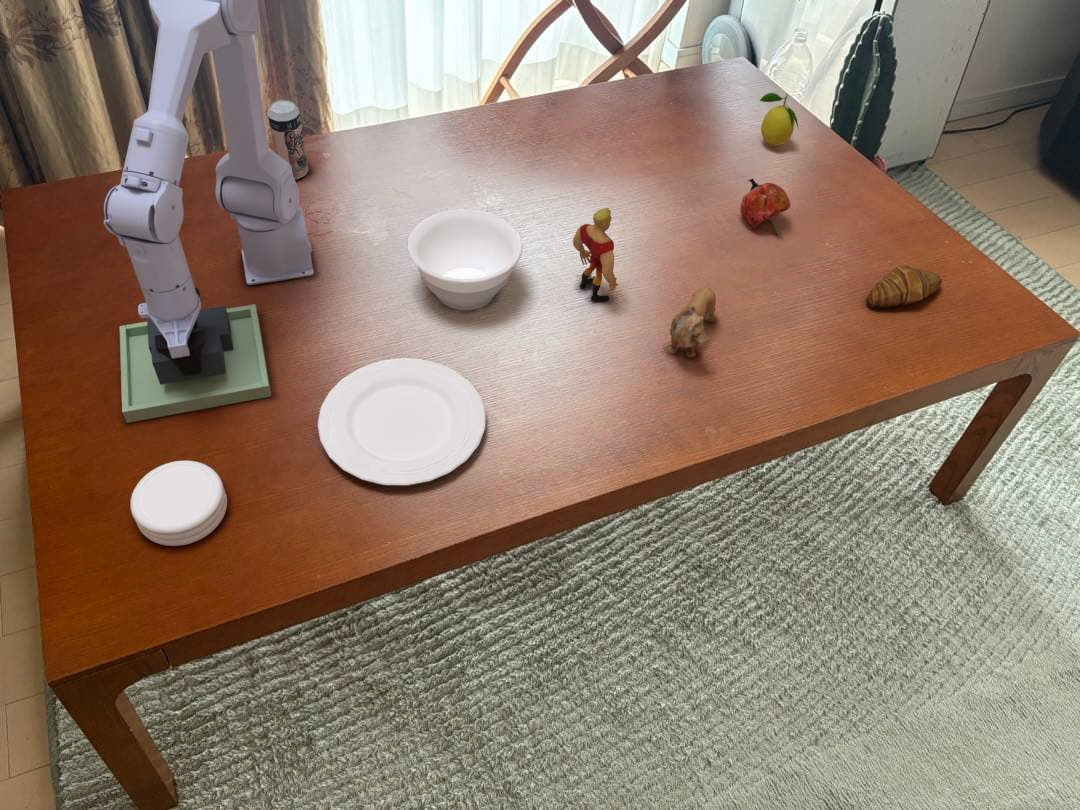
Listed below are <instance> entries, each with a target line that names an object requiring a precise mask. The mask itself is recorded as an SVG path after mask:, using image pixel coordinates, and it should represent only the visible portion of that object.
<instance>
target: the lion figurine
mask: <svg viewBox="0 0 1080 810" xmlns="http://www.w3.org/2000/svg"><path fill="white" fill-rule="evenodd" d="M716 299H717V298H716V293H715V292H714V291H713V289H712V288H711V287H701V288H698V289H697V290H696V291H695V292H694V293H693V294H692V296H691V298H690V300H689V301H688V303H687V304H686V305H685V306H684V307H683V309H682V310H681V311H680V312H679V313H677V314H676V315H675V317H674V318H673V319H672V321H671V324H670V330H669V334H670V335H669V336H670V341H671V342H670V346H668V347H667V353H668V354H671V355H674V354H676V352H677V351H678V346H681V347H682V348H685V350H686V353H685V354H686V356H687V357H688V358H694V357H695V356H696V351H695V347H696V346H698V347H701V346H702V345H703V344H704V343H706V342H708V340H709V339H710V337H709V336H708V335H707V333H706V332H705V327H704V318H705V320H706V321H707V322H714V319H715V312H716V304H717V301H716ZM706 313H707V314H706ZM705 314H706V315H705Z"/></svg>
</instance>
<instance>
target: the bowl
mask: <svg viewBox="0 0 1080 810" xmlns="http://www.w3.org/2000/svg"><path fill="white" fill-rule="evenodd" d="M520 235H521V234H520V233H519V232H518V230H517V229H516V227H514V226H513V224H512V223H510V222H509V221H507V220H506V219H505V218H503V217H502V216H499V215H497V214H495V213H493V212H489V211H485V210H481V209H476V208H475V209H473V208H454V209H448V210H442V211H439V212H436V213H434V214H431V215H429V216H427V217H425V218H424V219H422V220H420V221H419V222H418V223H417V225H415V226H414V227H413V228H412V230H411V232H410V234H409V235H408V239H407V243H406V244H407V245H406V246H407V247H406V249H407V254H408V256H409V258H410V260H411V261H412V263H413V264H414V265H415V266H416V268H417V270H418V272H419V275H420V277H421V280H422V282H424V284H425V285H426V287H427V288H428V289H429V290H430V291H431V292H432V293H433V294H434V295H436V297H437V299H438V300H439V302H440V303H442V304H443V305H445V306H446V307H448V308H451V309H453V310H458V311H473V310H478V309H481V308H483V307H485V306H486V305H488V304H489V303H490V302H491V301H492V300H493V299H494V297H495V296H496V295H497V294H498V293H499V292H500V291H501V290H502V288H503V287H504V286H505V285H506V283H508V281H509V278H510V277H511V274H512V271H513V268H514V267H515V266H516V265H517V264H518V262H519V261H520V259H521V256H522V254H523V247H524V246H523V241H522V237H521V236H520Z"/></svg>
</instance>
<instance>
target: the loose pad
mask: <svg viewBox="0 0 1080 810" xmlns="http://www.w3.org/2000/svg"><path fill="white" fill-rule="evenodd" d="M199 331H204V335H205V343H204V346H203V348H202V350H201V373H200V374H196V375H190V376H184V375H183V374H182V373H181V372H180V371H179V369H178V368H177V367H176V365H175V364H174V363H173V362H172V361H171V360H170V359H169V358H168V357H166V356H165V355H163V354H160V353H159V352H158V351H157V349H156V346H155V337H154V336H156V335H162V334H155V335H151V352H152V364H153V367H154V369H155V372H156V375H157V377H158V380H159V383H160V385H162V384H168V383H173V382H179V381H185V380H190V379H196V378H202V377H207V376H213V375H219V374H224V373H226V370H225V362H224V354H223V346H222V343H221V339H220V336H219V332H218V329H217V325H210V326H204V327H198V328H192V331H191V333H193V332H199Z"/></svg>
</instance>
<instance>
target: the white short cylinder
mask: <svg viewBox="0 0 1080 810" xmlns="http://www.w3.org/2000/svg"><path fill="white" fill-rule="evenodd" d="M227 507H228V497H227V493H226V490H225V487H224V483H223V481H222V479H221V477H220V476H219V474H218V473H217V472H216V471H215V470H214V469H213V468H212V467H210V466H208V465H207V464H205V463H203V462H199V461H194V460H175V461H170V462H167V463H164V464H161V465H159V466H157V467H155V468H153V469H152V470H150V471H149V472H147V473H146V474H145V475H144V476H143V477H142V478H141V479H140V480H139V481H138V482H137V484H136V486H135V487H134V489H133V491H132V493H131V497H130V512H131V515H132V517H133V519H134V521H135V523H136V525H137V528H138V529H139V531H140V532H141V534H142V535H143V536H144V537H145V538H147V539H148V540H150V541H151V542H153V543H155V544H157V545H158V544H159V545H162V546H167V547H168V546H169V547H179V546H186V545H191V544H193V543H195V542H196V543H197V542H198V541H200V540H202V539H204V538H206V537H207V536H209V535H210V534H211V533H212V532H214V530H215V529H217V528H218V526H219V525H220V524H221V522H222V520H223V519H224V517H225V515H226V512H227Z"/></svg>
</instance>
